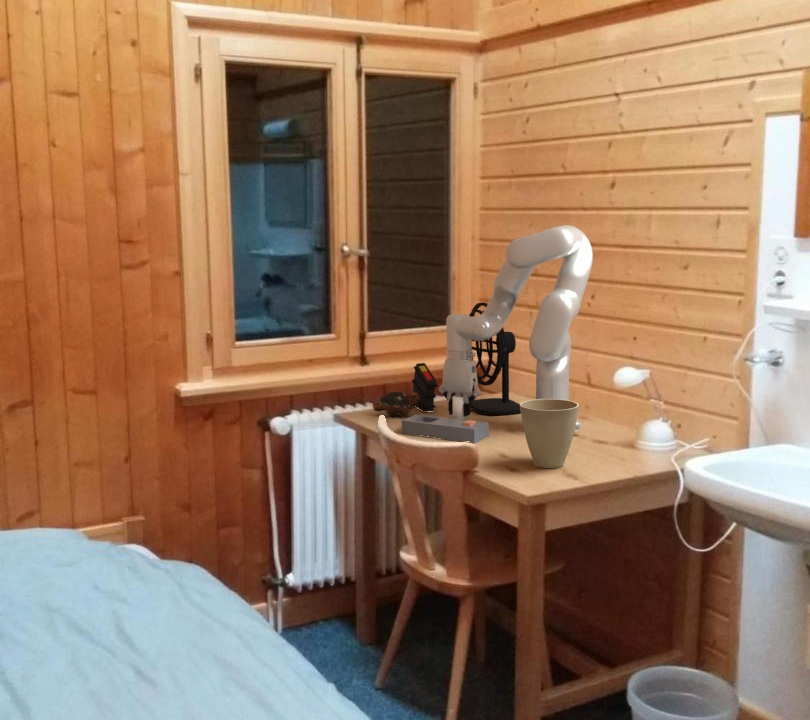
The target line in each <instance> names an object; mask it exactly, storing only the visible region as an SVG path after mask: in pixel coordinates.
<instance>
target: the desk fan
mask: <svg viewBox="0 0 810 720" xmlns="http://www.w3.org/2000/svg"><path fill="white" fill-rule="evenodd" d="M488 303H489V302H484V301H483V302H477V303H475V305H474V306H473V308H472V310H471V311H470V313H469V314H468V315H469V316H470V317H474V316H476V315H475V314H476V313H478V315H481V314H482V313H483V312H484V310H485V309H483V310H481V309H479V308H481V307H482V306H483V307H485V308H486V307H487V305H488ZM495 337H496V338H495V340H493V337H491V338H489V339H487V340H485V341H476V340H472V342H475V346H473V345H472V351H476V352H475V353H476V357H477V363H476V364H475V365H476V369H477V368H479V367H480V369H481V372H482V373H483V375H481V376H480V374H479V372H478V371H477V380H478V385H479V384H480V385H482V386H491V385H493V384H494V383H495V381H496V380H497V378H498V377H499V375H500V373H501V397H491V398H481V399H480V398H475V399H474V400H473V402H471V410H474V411H475V412H477V413H478V414H482V415H489V416H490V415H491V416H495V415H496V416H498V415H509V414H517V413H518V414H519V413H521V410H520V403H518V402H516V401H514V400H512V399H510V388H509V387H510V368H509V367H510V354H511V353H514V352H515V350H516V345H517V343H516V341H517V340H516V336H515V334H514V333H513V332H512V331H505V329H504V326H503V327H502V329H501V330H500V331H499V333H497V334H496V335H495ZM483 343H485V346H486V348H483ZM494 345H495V346H496V349H494V347H493V346H494ZM483 353H487V356H488V362H487V367H486V368H485V366H484V364H483V360H482V359H483V358H482V355H483ZM493 354H497V355H496V363H495V362H494V360H493V357H494V356H493ZM472 360H474V357H472ZM492 366H494V371H493V373H492V374H491V375H490V371H491V369H492ZM485 378H489V379H487V380H486V381H484V380H483V379H485Z"/></svg>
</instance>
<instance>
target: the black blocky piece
mask: <svg viewBox="0 0 810 720" xmlns="http://www.w3.org/2000/svg"><path fill="white" fill-rule="evenodd" d="M413 369H414V373H413V374H414V376H413V379H411V382H412V384H413V385H412V386H413V387H412V392H415V393H418V395H419V397H420V399H419V400H418V403H417V405H416V407H418V408H419V409H421V410H423V411H426V412H427V411H435V409H436V405H435V398H436V397H437V395H436V394H435V392H436V388H438V384H437V379H436V378H435V377H434V375H433V374H432V372H431V370H430V369H429V367H428V365H427V364H426V363H425V362H420V363H418V362H417V363H416V365H414V366H413ZM419 409H418V410H419ZM421 410H420V411H421ZM423 411H422V412H423Z"/></svg>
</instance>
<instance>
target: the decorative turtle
mask: <svg viewBox="0 0 810 720" xmlns="http://www.w3.org/2000/svg"><path fill="white" fill-rule="evenodd" d="M419 399H420V397H419V395H418V393H415V392H413V391H410V392H408V393H407V394H406V393H404V392H401V391H391V392H388V393H386V394H384V395H382V396H381V397H380V398H379V400H378V401H375V402H373V403H372V409H373V411H375V412H384V411H385V412H386V414H387V417H388V418H390V417H392V418H394V416H395V415H396V414H399V416H400V417H401V418H402V417H406V418H407V417H408V415H409V413H410V410H412V409H414V408H415V406H416V405H417V403H418V400H419Z"/></svg>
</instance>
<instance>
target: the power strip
mask: <svg viewBox="0 0 810 720" xmlns="http://www.w3.org/2000/svg"><path fill="white" fill-rule="evenodd" d="M489 430H490V426H489V422H485V421H478V420H472V419H467V420H461V419H453V417H451V418H450V417H442V416H436V415H435V416H434V415H426V414H419V413H418V414H414V415H413V416H410V417H406V418H403V419H402V420H401V434H402V435H408V436H415V435H423V436H429V437H428V438H430V437H436V438H435V439H438V438H441V439H440V440H446V439H447V440H446V441H454V440H457V441H456V442H461V441H470V442H473V443H472V444H476V443H478V442H480V441H482V440H484V439H486V438H489V435H490V433H489V432H490V431H489ZM423 436H422V437H423Z"/></svg>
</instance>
